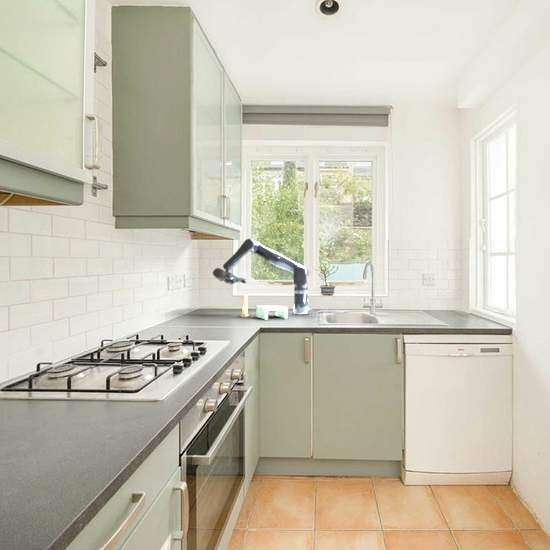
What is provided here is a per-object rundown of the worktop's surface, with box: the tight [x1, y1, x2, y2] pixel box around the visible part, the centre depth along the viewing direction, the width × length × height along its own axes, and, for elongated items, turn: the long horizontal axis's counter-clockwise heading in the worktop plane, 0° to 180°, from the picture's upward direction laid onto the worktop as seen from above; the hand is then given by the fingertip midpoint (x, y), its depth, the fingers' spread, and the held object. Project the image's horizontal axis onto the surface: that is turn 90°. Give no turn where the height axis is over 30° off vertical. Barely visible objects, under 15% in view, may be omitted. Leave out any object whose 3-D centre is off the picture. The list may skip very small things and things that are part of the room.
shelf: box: [255, 304, 289, 320], centre depth 299 cm, size 16×14×7 cm
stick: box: [240, 294, 249, 318], centre depth 304 cm, size 5×5×14 cm
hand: (239, 281), depth 310 cm, fingers open, 8 cm apart
